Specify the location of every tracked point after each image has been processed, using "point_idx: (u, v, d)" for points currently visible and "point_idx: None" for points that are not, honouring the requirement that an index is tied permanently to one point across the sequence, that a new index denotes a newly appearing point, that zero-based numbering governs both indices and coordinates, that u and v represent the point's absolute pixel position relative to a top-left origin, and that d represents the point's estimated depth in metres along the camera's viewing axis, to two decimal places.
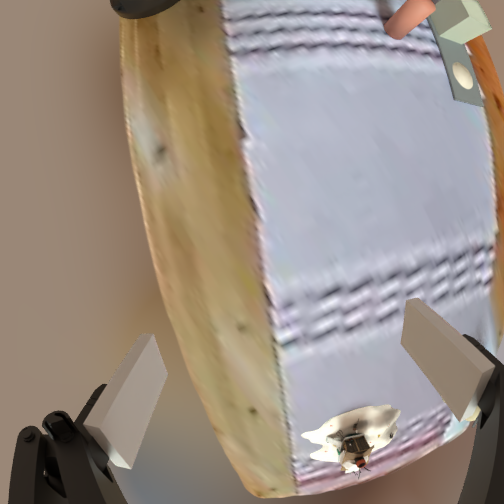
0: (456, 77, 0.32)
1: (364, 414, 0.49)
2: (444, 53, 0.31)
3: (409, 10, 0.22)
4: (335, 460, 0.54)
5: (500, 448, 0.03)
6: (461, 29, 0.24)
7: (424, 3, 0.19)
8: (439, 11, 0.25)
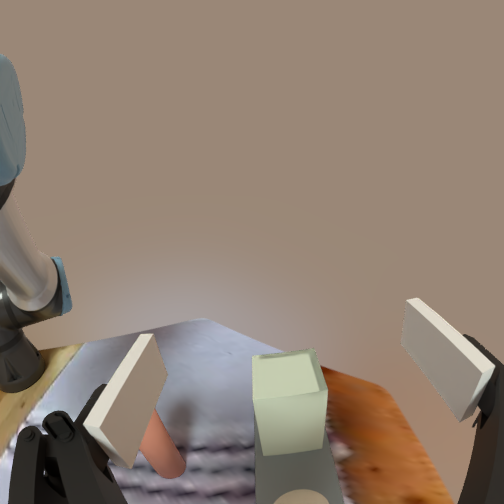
0: None
1: None
2: (261, 485, 0.21)
3: None
4: None
5: (500, 448, 0.03)
6: (280, 429, 0.24)
7: None
8: None
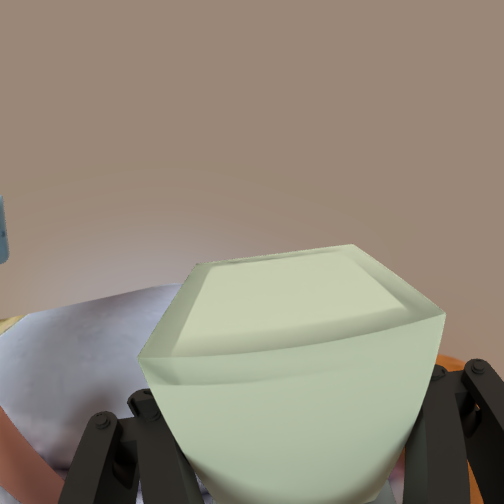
0: None
1: None
2: None
3: None
4: None
5: (432, 456, 0.04)
6: (268, 476, 0.07)
7: None
8: None
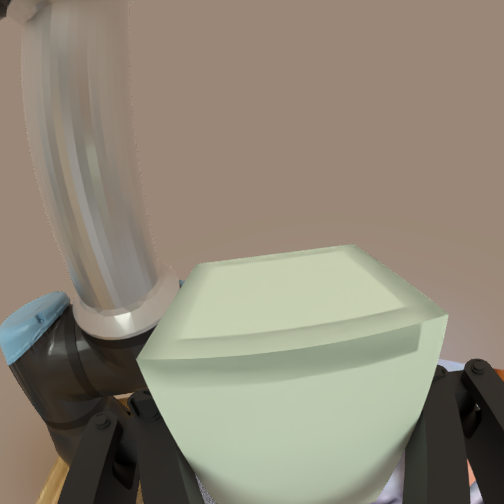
0: None
1: None
2: None
3: None
4: None
5: (432, 456, 0.04)
6: (268, 477, 0.06)
7: None
8: None
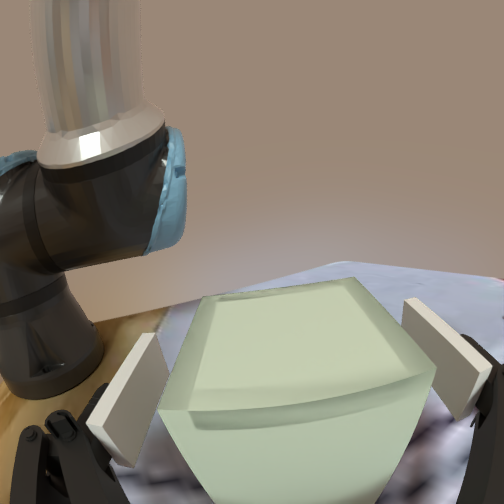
0: None
1: None
2: None
3: None
4: None
5: (498, 448, 0.03)
6: (272, 494, 0.07)
7: None
8: None
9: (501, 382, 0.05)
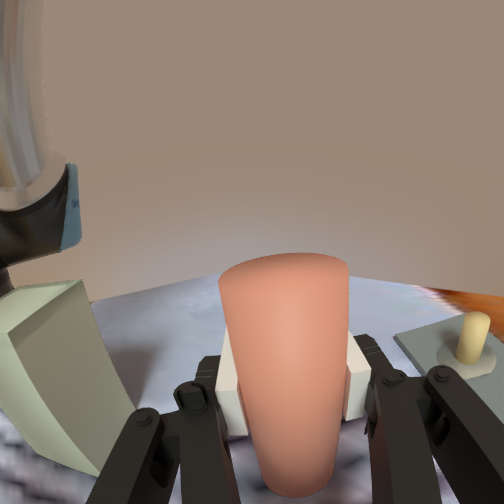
0: None
1: None
2: None
3: (237, 367, 0.08)
4: None
5: (396, 464, 0.04)
6: (11, 406, 0.09)
7: (273, 278, 0.08)
8: None
9: (383, 391, 0.07)
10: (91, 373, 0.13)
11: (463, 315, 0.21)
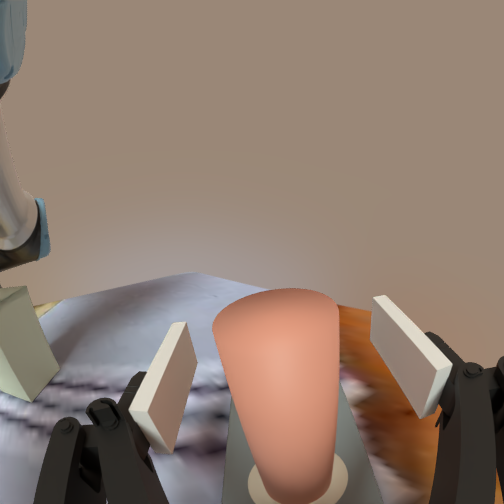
0: (254, 495, 0.11)
1: None
2: (236, 437, 0.16)
3: (234, 401, 0.09)
4: None
5: (465, 451, 0.04)
6: None
7: (264, 325, 0.08)
8: None
9: (463, 382, 0.06)
10: (29, 337, 0.21)
11: None
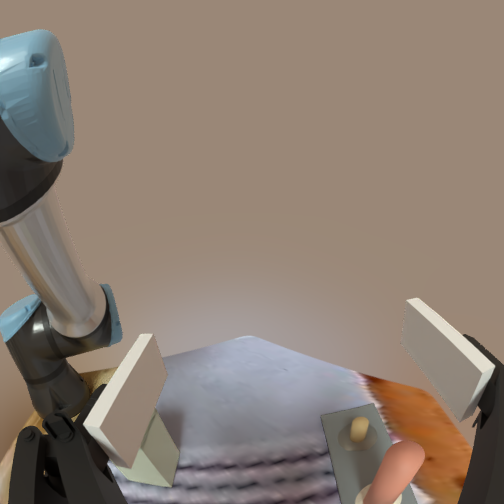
0: None
1: None
2: (342, 484, 0.23)
3: (382, 482, 0.16)
4: None
5: (500, 448, 0.03)
6: None
7: (403, 462, 0.15)
8: None
9: None
10: (163, 444, 0.28)
11: (371, 405, 0.36)
